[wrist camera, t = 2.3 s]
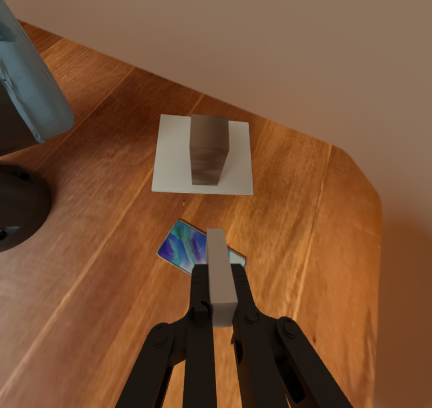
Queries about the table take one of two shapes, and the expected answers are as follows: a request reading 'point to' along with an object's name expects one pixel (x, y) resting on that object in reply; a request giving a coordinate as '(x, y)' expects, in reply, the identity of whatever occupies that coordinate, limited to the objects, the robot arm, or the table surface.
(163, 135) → the mat
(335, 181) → the table surface
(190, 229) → the smartphone
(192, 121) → the walnut block
